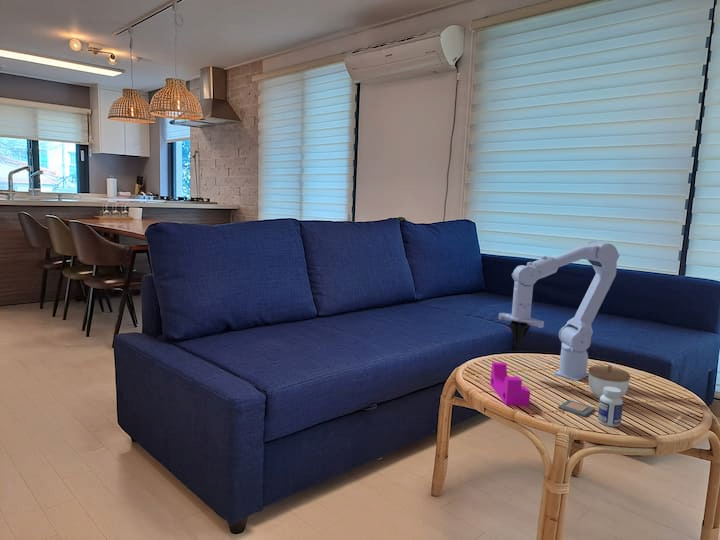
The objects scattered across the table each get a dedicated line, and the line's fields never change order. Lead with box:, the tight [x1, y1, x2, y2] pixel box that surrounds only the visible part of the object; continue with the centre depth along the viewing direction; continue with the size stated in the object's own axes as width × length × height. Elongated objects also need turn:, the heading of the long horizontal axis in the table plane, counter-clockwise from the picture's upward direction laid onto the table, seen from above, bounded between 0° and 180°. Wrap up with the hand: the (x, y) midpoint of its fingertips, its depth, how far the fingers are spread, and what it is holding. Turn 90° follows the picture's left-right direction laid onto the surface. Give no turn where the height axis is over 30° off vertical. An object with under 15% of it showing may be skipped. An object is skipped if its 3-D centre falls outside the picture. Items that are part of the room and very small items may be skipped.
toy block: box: [489, 361, 531, 407], centre depth 144 cm, size 15×6×8 cm, turn 2°
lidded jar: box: [587, 365, 631, 400], centre depth 146 cm, size 11×11×9 cm
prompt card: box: [557, 399, 596, 418], centre depth 136 cm, size 7×7×1 cm
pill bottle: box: [597, 386, 624, 428], centre depth 128 cm, size 5×5×9 cm
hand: (518, 345), depth 162 cm, fingers closed
